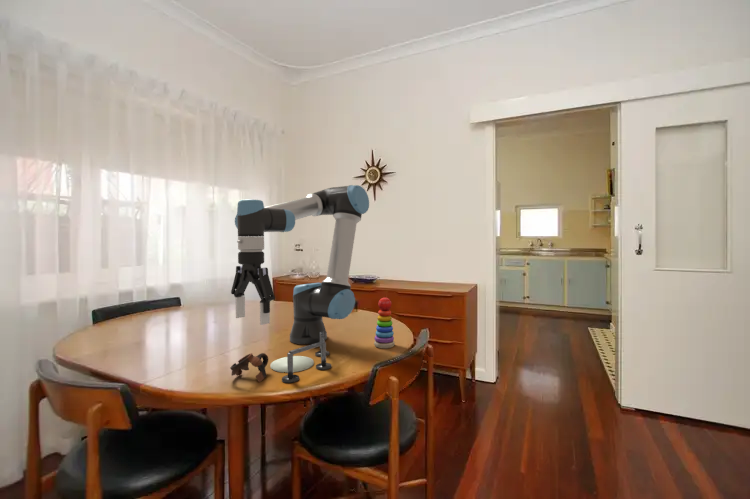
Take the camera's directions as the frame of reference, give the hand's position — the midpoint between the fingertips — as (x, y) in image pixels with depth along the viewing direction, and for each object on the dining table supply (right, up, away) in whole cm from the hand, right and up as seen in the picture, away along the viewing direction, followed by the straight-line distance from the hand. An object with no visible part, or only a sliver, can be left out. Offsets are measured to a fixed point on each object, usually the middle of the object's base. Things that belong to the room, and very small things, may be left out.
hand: (252, 320), depth 109 cm
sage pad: (+10, -17, +10) cm, 22 cm away
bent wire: (+15, -17, +8) cm, 24 cm away
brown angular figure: (0, -17, 0) cm, 17 cm away
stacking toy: (+41, -16, +29) cm, 53 cm away
